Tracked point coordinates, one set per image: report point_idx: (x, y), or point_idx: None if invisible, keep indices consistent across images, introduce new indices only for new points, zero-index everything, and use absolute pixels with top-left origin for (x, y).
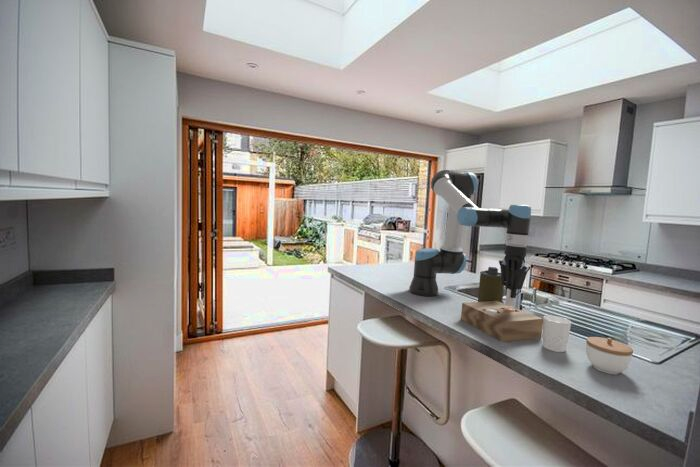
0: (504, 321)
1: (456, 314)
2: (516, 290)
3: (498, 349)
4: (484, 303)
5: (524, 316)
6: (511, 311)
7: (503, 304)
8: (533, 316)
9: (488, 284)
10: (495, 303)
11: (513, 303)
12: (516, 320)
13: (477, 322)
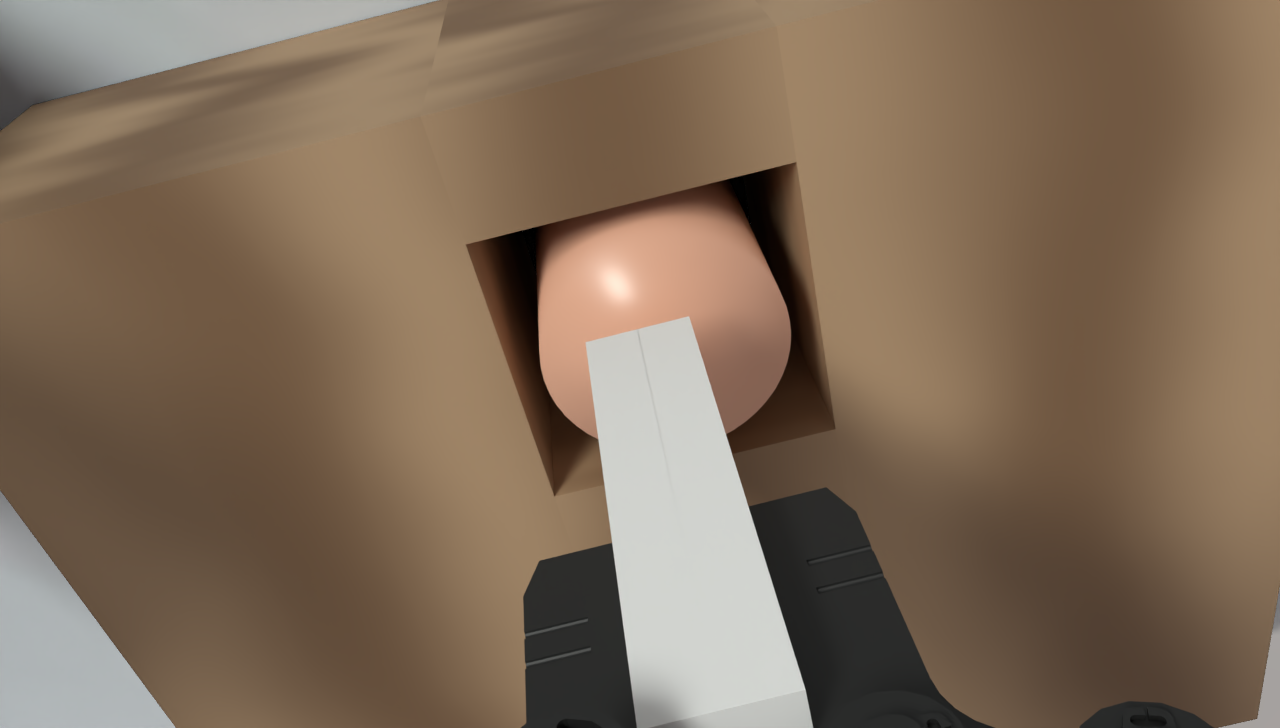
0: (1232, 713)
1: (125, 679)
2: (944, 702)
3: None
4: (255, 646)
5: (1131, 271)
6: (780, 359)
7: (208, 263)
8: (1190, 39)
9: None
10: (171, 425)
11: (698, 357)
12: (1261, 541)
13: None
